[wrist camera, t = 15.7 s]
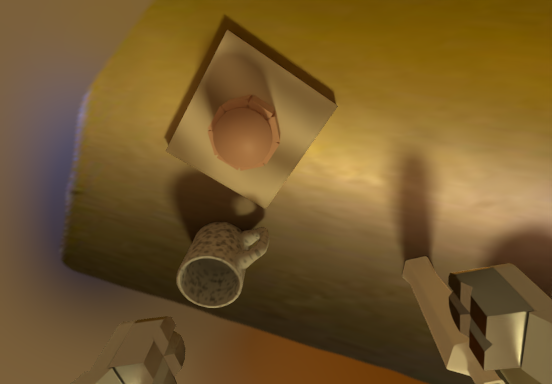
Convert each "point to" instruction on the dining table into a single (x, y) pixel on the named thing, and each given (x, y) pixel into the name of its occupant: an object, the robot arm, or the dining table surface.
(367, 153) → the dining table surface
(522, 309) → the robot arm
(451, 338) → the perfume bottle
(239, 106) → the cap
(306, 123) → the board
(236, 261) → the mug
